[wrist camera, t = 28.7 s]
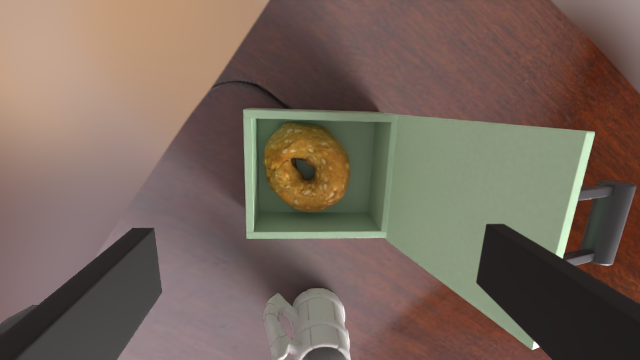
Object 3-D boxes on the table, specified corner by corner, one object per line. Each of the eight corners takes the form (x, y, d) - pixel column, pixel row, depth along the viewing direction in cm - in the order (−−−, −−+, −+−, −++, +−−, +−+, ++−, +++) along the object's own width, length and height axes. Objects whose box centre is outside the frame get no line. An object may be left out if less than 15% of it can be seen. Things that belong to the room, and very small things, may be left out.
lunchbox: (253, 215, 40) (246, 238, 33) (251, 107, 36) (242, 109, 30) (372, 215, 41) (387, 237, 35) (380, 112, 38) (399, 114, 31)
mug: (325, 339, 45) (336, 421, 34) (253, 307, 43) (240, 383, 31) (353, 299, 44) (375, 370, 33) (281, 264, 42) (277, 327, 30)
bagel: (317, 103, 36) (321, 103, 31) (361, 180, 39) (370, 191, 34) (245, 146, 36) (239, 153, 32) (294, 219, 39) (294, 235, 35)
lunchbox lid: (531, 350, 19) (621, 315, 23) (586, 131, 16) (681, 131, 19) (385, 240, 34) (453, 229, 38) (397, 114, 31) (471, 116, 34)
